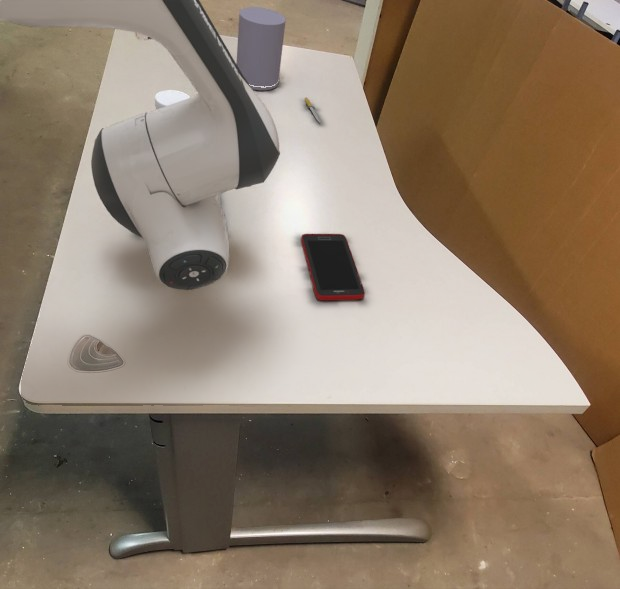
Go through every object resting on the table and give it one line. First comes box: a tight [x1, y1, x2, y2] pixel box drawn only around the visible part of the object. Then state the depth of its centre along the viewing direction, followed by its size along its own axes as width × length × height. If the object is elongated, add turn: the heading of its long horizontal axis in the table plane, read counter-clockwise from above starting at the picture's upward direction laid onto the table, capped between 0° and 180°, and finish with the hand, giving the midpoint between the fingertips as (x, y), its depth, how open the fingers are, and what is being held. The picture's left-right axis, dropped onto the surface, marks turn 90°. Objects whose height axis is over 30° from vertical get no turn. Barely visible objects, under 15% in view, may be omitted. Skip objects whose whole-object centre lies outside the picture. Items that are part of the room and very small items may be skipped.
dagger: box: [304, 96, 321, 124], centre depth 120 cm, size 11×1×2 cm
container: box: [235, 6, 287, 92], centre depth 122 cm, size 10×10×15 cm
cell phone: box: [300, 233, 366, 301], centre depth 84 cm, size 8×15×1 cm, turn 10°
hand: (173, 129), depth 74 cm, fingers closed on pill bottle, 6 cm apart
